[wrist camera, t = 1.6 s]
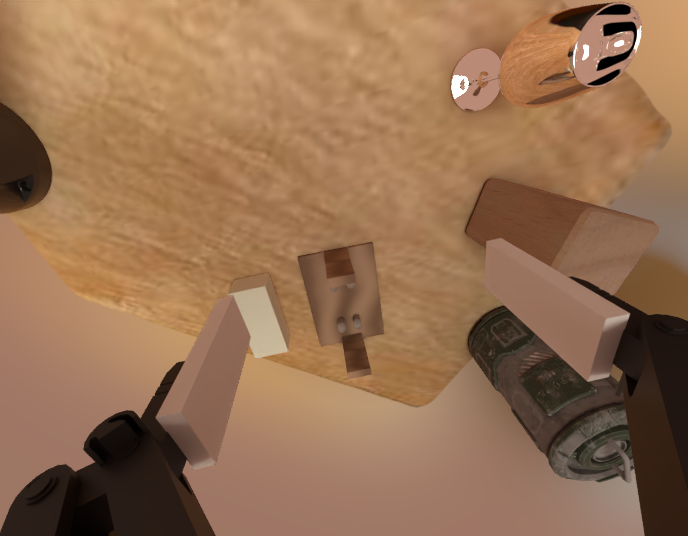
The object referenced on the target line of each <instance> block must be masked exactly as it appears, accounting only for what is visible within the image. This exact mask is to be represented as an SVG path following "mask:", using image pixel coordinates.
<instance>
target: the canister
mask: <svg viewBox="0 0 688 536" xmlns="http://www.w3.org/2000/svg"><path fill="white" fill-rule="evenodd" d="M469 350H470V353H471V355H472V356H473V358H474V359H475V361H476V362H477V364H478V365H479V367H480V368H481V369H482V371H483V372H484V374H485V375H486V377H487V378H488V379H489V381H490V382H491V384H492V385H493V386H494V388H495V389H496V390H497V391H499V392H500V393H501V394H502V395H503V397H504V398H505V399H506V401H507V402H508V404H509V405H510V406H511V410H512V412H513V414H514V415H515V416H516V418H517V419H518V421H519V422H520V424H521V425H522V426H523V428H524V429H525V430H526V432H527V433H528V435H529V436H530V438H531V439H532V440H533V442H534V443H535V445H536V446H537V447H538V449H539V450H540V451H541V452H543V453H544V454H545V455H546V457H547V458H548V460H549V464H550V466H551V468H552V469H553V471H554V472H555V473H556V474H558V475H559V476H561V477H563V478H567V479H575V480H581V481H590V480H595V481H597V482H603V481H607V480H610V479H613V478H616V477H618V476H621V477H622V479H623V480H625V481H626V482H628V483H630V482H631V470H633V469H634V467H633V465H634V462H633V456H632V449H631V443H630V436H629V430H628V423H627V417H626V410H625V404H624V397H623V391H622V392H621V394H620V396H617V395H615V394H616V390H617V387H618V385H619V382H618V381H617V380H616V379H614V378H613V377H612V376H611V375H609V377H607V378H602V379H598V380H593V381H589V382H587V381H586V380H585V379H584V378H583V377H582V376H581V375H580V374H579V373H578V372H576V371H575V370H574V369H573V368H572V367H571V366H570V365H569V364H568V363H567V362H566V361H564V360H563V359H562V358H561V357H560V356H559V355H558V354H557V353H556V352H555V351H554V350H553V349H551V348H550V347H549V346H548V345H547V344H546V343H545V342H544V341H543V340H542V339H541V338H539V337H538V336H537V335H536V334H535V333H534V332H533V331H532V330H531V329H530V328H529V327H527V326H526V325H525V324H524V323H523V322H522V321H521V320H520V319H519V318H518V317H517V316H516V315H514V314H513V313H512V312H511V311H510V310H509V309H508V308H507V307H503V308H499V309H497V310H494V311H492V312H491V313H489V314H487V315H486V316H485V317H483V318H482V321H481V322H480V323H479V324H478V326H477V327H476V328H475V330H474V331H473V333H472V335H470V338H469Z"/></svg>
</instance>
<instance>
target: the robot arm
mask: <svg viewBox="0 0 688 536" xmlns="http://www.w3.org/2000/svg"><path fill="white" fill-rule="evenodd" d="M50 182H51V169H50V163H49V160H48V157H47V154H46V152H45V150H44V148H43V146H42V144H41V142H40V141H39V139H38V138H37V136H36V135H35V134H34V132H33V131H32V130H31V129H30V127H29V126H28V125H27V124H26V123H25V122H24V121H23V120H22V119H21V118H20V117H19V116H17V115H16V114H15V113H14V112H13V111H11V110H10V109H9V108H7V107H6V106H4V105H3V104H1V103H0V214H3V213H10V212H15V211H18V210H22V209H25V208H28V207H31V206H33V205H35V204H37V203H38V202H39V201H40V200H42V198H43V197H44V196H45V195H46V193H47V191H48V189H49V186H50ZM484 287H485V288H486V289H487V290H488V291H489V292H490V293H492V294H493V295H494V296H495V297H496V298H497V299H498V300H499V301H500V302H501V303H502V304H504V305H505V306H506V307H507V308H508V309H509V310H510V311H511V312H512V313H513V314H514V315H516V316H517V317H518V318H519V319H520V320H521V321H522V322H523V323H524V324H525V325H526V326H527V327H529V328H530V329H531V330H532V331H533V332H534V333H535V334H536V335H537V336H538V337H539V338H541V339H542V340H543V341H544V342H545V343H546V344H547V345H548V346H549V347H550V348H551V349H553V350H554V351H555V352H556V353H557V354H558V355H559V356H560V357H561V358H562V359H563V360H564V361H566V362H567V363H568V364H569V365H570V366H571V367H572V368H573V369H574V370H575V371H576V372H578V373H579V374H580V375H581V376H582V377H583V378H584V379H585V380H586V381H587V382H589V381H593V380H598V379H602V378H607V377H609V375H610V372H611V369H612V366H613V364H614V365H615V366H617V367H618V368H619V369H621V370H622V371H623V374H622V377H621V379H620V382H619V385H618V387H617V390H616V394H615V395H617V396H620V394H621V392H622V391H623V397H624V404H625V410H626V417H627V423H628V430H629V436H630V443H631V449H632V456H633V462H634V469H635V474H636V481H637V488H638V495H639V501H640V508H641V514H642V521H643V526H644V534H645V536H688V321H686V320H684V319H681V318H678V317H674V316H669V315H660V314H654V315H647V314H645V313H644V312H642V311H640V310H638V309H637V308H635V307H633V306H631V305H629V304H628V303H625V302H624V301H622V300H620V299H618V298H617V297H615V296H613V295H610V293H608V292H606V291H604V290H600V288H599V287H597V286H595V285H594V284H592V283H590V282H588V281H585V280H582V279H579V278H576V277H573V276H571V277H567V276H565V275H563V274H562V273H560V272H558V271H557V270H555V269H553V268H551V267H550V266H548V265H546V264H545V263H543V262H541V261H539V260H538V259H536V258H534V257H533V256H531V255H529V254H528V253H526V252H524V251H522V250H521V249H519V248H517V247H516V246H514V245H512V244H510V243H509V242H507V241H505V240H504V239H502V238H499V239H494V240H489V241H486V261H485V281H484ZM250 339H251V336H250V334H249V331H248V329H247V326H246V324H245V322H244V319H243V317H242V315H241V312H240V310H239V308H238V305H237V303H236V301H235V298H234V296H233V295H232V296H227V297H222V298H218V300H217V302H216V303H215V305H214V307H213V309H212V311H211V313H210V315H209V317H208V319H207V321H206V323H205V324H204V326H203V328H202V330H201V332H200V334H199V336H198V338H197V340H196V342H195V343H194V345H193V347H192V349H191V351H190V353H189V355H188V357H187V359H186V361H182V362H178V363H176V364H175V365H174V366H173V367H172V368H171V369H170V370H169V371H168V372H167V374H166V375H165V377H164V379H163V380H162V382H161V384H160V387H158V389H157V391H156V393H155V396H153V398H152V399H151V401H150V403H149V405H148V406H147V408H146V410H145V412H144V413H143V415H142V417H141V419H140V418H139V417H138V415H137V414H136V413H135V412H134V411H128V410H126V411H123V412H119V413H116V414H115V415H113V416H111V417H109V418H108V419H106V420H105V421H103V422H102V423H101V424H99V425H98V426H97V427H96V428H95V429H94V430H93V432H92V433H90V435H89V436H88V438H87V440H86V441H85V444H84V451H85V452H86V453H87V454H88V455H89V456H90V457H91V458H92V459H93V460H94V461H95V463H93V464H91V465H88V466H86V467H84V468H82V469H80V470H78V471H76V472H75V471H74V470H72V469H71V468H70V467H69V466H67V465H66V464H65V465H57V466H55V467H53V468H51V469H48V470H46V471H45V472H43V473H42V474H40V475H39V476H37V477H36V478H35V479H33V480H32V481H31V482H30V483H29V484H28V485H26V486H25V488H24V489H23V490H22V491H21V492H20V493H19V494H18V495H17V497H16V498H15V500H14V502H13V503H12V505H11V507H10V509H9V512H8V514H7V516H6V519H5V521H4V524H3V526H2V529H1V532H0V536H216V535H215V534H214V532H213V530H212V528H211V526H210V524H209V522H208V520H207V518H206V516H205V514H204V512H203V510H202V508H201V506H200V504H199V502H198V500H197V498H196V496H195V494H194V492H193V490H192V488H191V486H190V484H189V482H188V480H187V478H186V477H185V475H184V474H183V473H182V471H183V468H184V466H185V463H186V460H187V461H188V462H189V463H190V465H191V466H192V467H193V469H198V468H202V467H207V466H211V465H216V463H217V459H218V456H219V452H220V448H221V445H222V441H223V437H224V434H225V430H226V426H227V423H228V419H229V416H230V412H231V408H232V404H233V401H234V397H235V394H236V390H237V386H238V383H239V379H240V375H241V372H242V368H243V365H244V361H245V357H246V354H247V350H248V346H249V343H250Z"/></svg>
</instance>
